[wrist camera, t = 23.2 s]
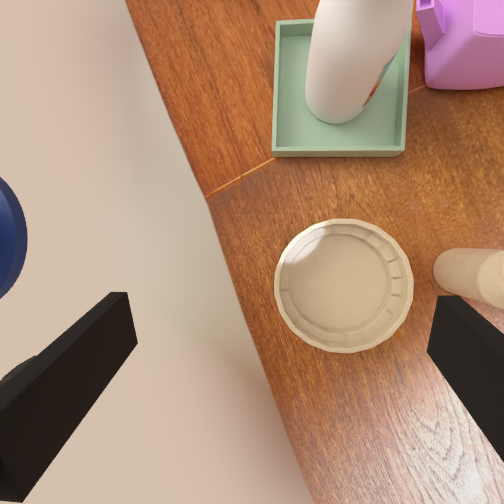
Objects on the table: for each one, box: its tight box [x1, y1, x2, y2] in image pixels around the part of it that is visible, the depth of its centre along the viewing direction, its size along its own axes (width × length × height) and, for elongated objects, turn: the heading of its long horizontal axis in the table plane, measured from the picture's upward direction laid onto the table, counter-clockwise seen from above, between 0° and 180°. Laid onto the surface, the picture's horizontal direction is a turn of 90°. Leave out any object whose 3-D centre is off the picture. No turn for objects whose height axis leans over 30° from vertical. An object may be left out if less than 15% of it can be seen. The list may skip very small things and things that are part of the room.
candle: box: [433, 248, 504, 309], centre depth 30 cm, size 6×6×10 cm
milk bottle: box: [305, 0, 414, 124], centre depth 25 cm, size 8×8×20 cm
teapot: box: [416, 0, 504, 90], centre depth 29 cm, size 18×10×10 cm, turn 90°
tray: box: [272, 16, 412, 157], centre depth 34 cm, size 15×15×2 cm
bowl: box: [274, 218, 414, 353], centre depth 35 cm, size 15×15×4 cm
